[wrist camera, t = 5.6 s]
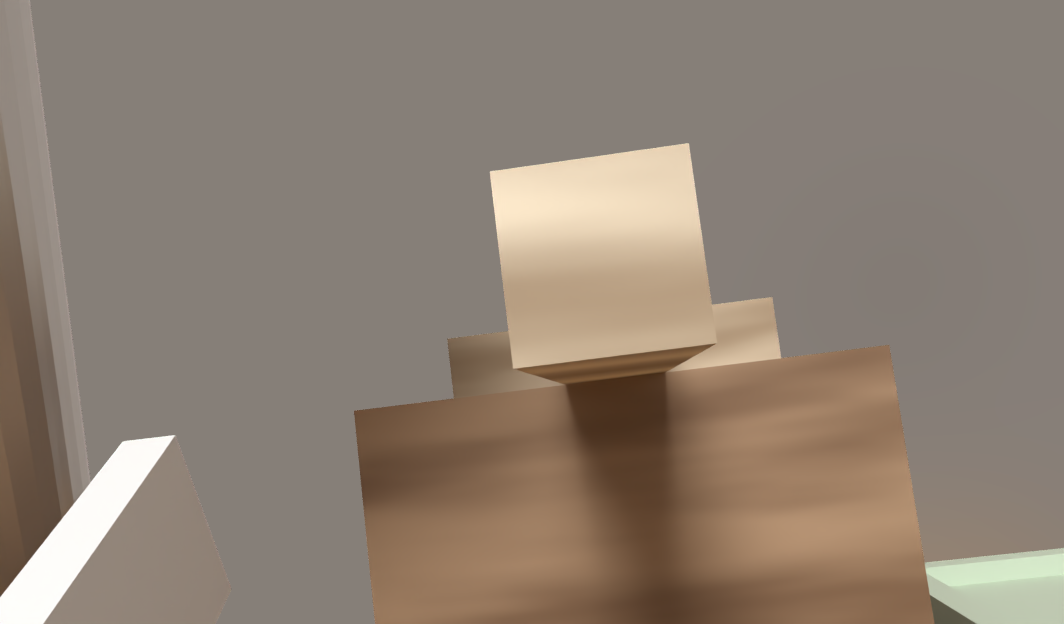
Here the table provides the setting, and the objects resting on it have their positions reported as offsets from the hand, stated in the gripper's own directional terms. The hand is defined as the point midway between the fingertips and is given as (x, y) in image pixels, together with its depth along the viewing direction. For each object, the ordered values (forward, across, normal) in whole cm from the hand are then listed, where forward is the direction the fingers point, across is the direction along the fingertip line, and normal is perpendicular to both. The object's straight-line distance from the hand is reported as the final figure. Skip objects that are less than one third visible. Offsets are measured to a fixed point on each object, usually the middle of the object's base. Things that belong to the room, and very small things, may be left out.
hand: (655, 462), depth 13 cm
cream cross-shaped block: (+14, 0, -7) cm, 16 cm away
